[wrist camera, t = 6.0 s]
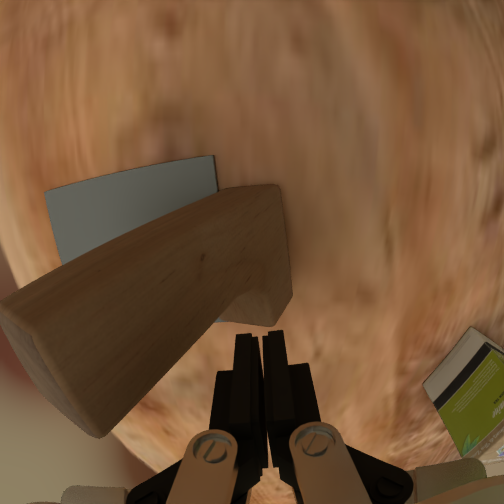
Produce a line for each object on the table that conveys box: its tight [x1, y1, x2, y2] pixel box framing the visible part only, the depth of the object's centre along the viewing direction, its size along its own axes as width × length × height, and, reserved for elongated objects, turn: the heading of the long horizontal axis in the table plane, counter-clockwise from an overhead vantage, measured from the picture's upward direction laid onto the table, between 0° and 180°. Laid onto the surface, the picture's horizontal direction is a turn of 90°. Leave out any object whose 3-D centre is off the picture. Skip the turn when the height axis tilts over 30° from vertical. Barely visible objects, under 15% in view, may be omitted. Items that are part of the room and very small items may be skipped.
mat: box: [44, 155, 229, 323], centre depth 24 cm, size 16×14×1 cm
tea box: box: [423, 327, 504, 465], centre depth 23 cm, size 15×10×15 cm, turn 62°
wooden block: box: [0, 184, 293, 439], centre depth 15 cm, size 9×4×18 cm, turn 9°
